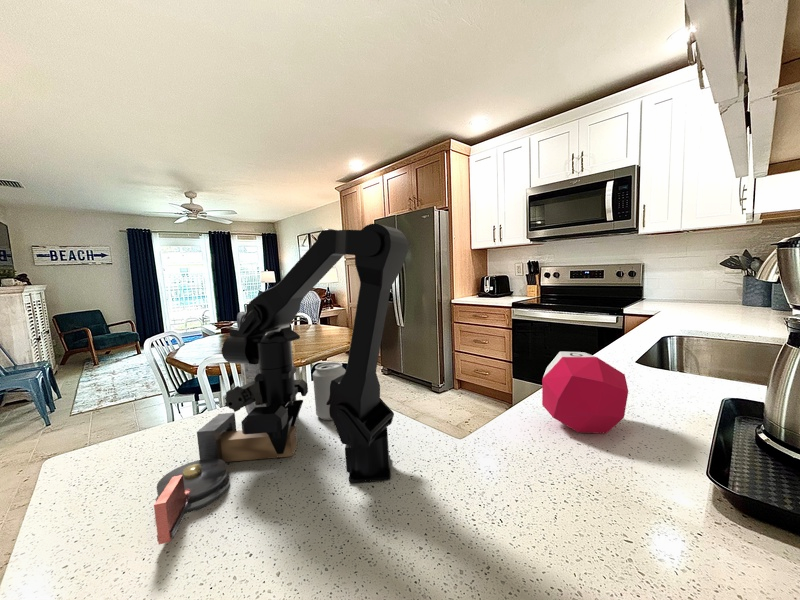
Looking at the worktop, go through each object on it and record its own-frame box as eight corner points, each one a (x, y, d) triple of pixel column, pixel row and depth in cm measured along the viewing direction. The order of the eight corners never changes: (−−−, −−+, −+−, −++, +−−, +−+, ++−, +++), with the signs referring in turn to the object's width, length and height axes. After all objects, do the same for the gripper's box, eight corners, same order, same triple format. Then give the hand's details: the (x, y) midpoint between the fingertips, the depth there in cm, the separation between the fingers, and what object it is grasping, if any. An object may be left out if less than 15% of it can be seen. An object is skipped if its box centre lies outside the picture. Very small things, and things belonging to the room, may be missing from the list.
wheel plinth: (240, 472, 56) (239, 466, 56) (210, 512, 46) (209, 505, 46) (182, 477, 55) (181, 471, 55) (139, 518, 46) (138, 511, 46)
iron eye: (238, 447, 64) (234, 412, 64) (218, 469, 57) (214, 430, 57) (222, 448, 64) (218, 413, 64) (201, 471, 57) (196, 431, 56)
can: (335, 406, 83) (331, 359, 82) (355, 412, 78) (351, 362, 77) (309, 417, 77) (305, 366, 76) (330, 424, 72) (325, 370, 71)
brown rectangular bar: (297, 446, 63) (295, 426, 63) (292, 456, 59) (290, 434, 59) (225, 452, 62) (223, 432, 62) (215, 462, 59) (213, 441, 59)
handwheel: (206, 532, 41) (202, 494, 41) (119, 554, 38) (114, 513, 38) (232, 465, 56) (229, 436, 56) (171, 477, 54) (168, 447, 53)
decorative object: (565, 365, 55) (548, 330, 69) (535, 434, 61) (525, 389, 75) (660, 392, 53) (623, 350, 67) (621, 461, 58) (594, 409, 72)
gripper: (251, 356, 69) (258, 428, 70) (202, 385, 50) (213, 483, 51) (305, 352, 69) (311, 424, 71) (276, 379, 51) (285, 476, 52)
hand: (283, 447), depth 61 cm, fingers closed on brown rectangular bar, 3 cm apart
